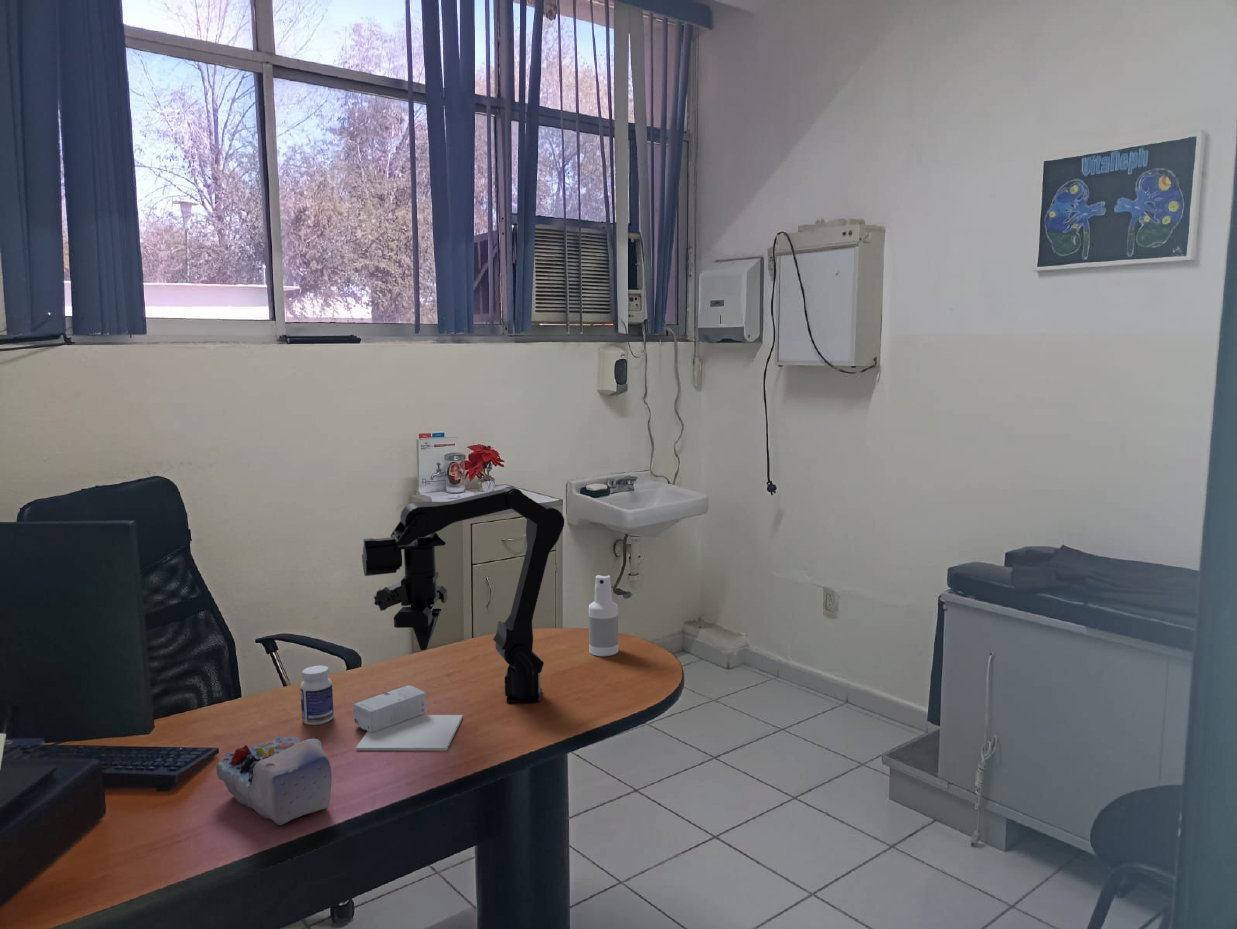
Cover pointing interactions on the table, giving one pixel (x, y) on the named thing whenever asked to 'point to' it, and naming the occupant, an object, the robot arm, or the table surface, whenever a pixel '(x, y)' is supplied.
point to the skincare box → (390, 708)
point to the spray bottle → (603, 620)
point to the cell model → (279, 777)
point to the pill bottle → (316, 696)
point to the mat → (414, 734)
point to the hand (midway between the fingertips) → (423, 649)
